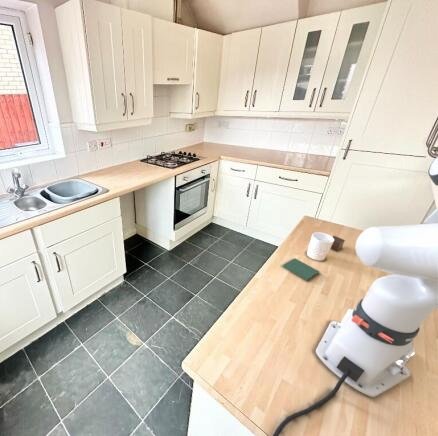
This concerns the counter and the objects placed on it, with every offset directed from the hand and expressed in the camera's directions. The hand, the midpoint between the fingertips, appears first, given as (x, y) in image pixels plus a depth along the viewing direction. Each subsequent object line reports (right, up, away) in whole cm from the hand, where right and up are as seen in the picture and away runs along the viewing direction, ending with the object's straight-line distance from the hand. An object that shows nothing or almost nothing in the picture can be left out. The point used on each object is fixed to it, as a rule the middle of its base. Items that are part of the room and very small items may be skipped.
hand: (430, 225), depth 75 cm
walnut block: (-1, -11, +38) cm, 39 cm away
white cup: (-13, -15, +32) cm, 38 cm away
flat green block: (-25, -19, +24) cm, 40 cm away
